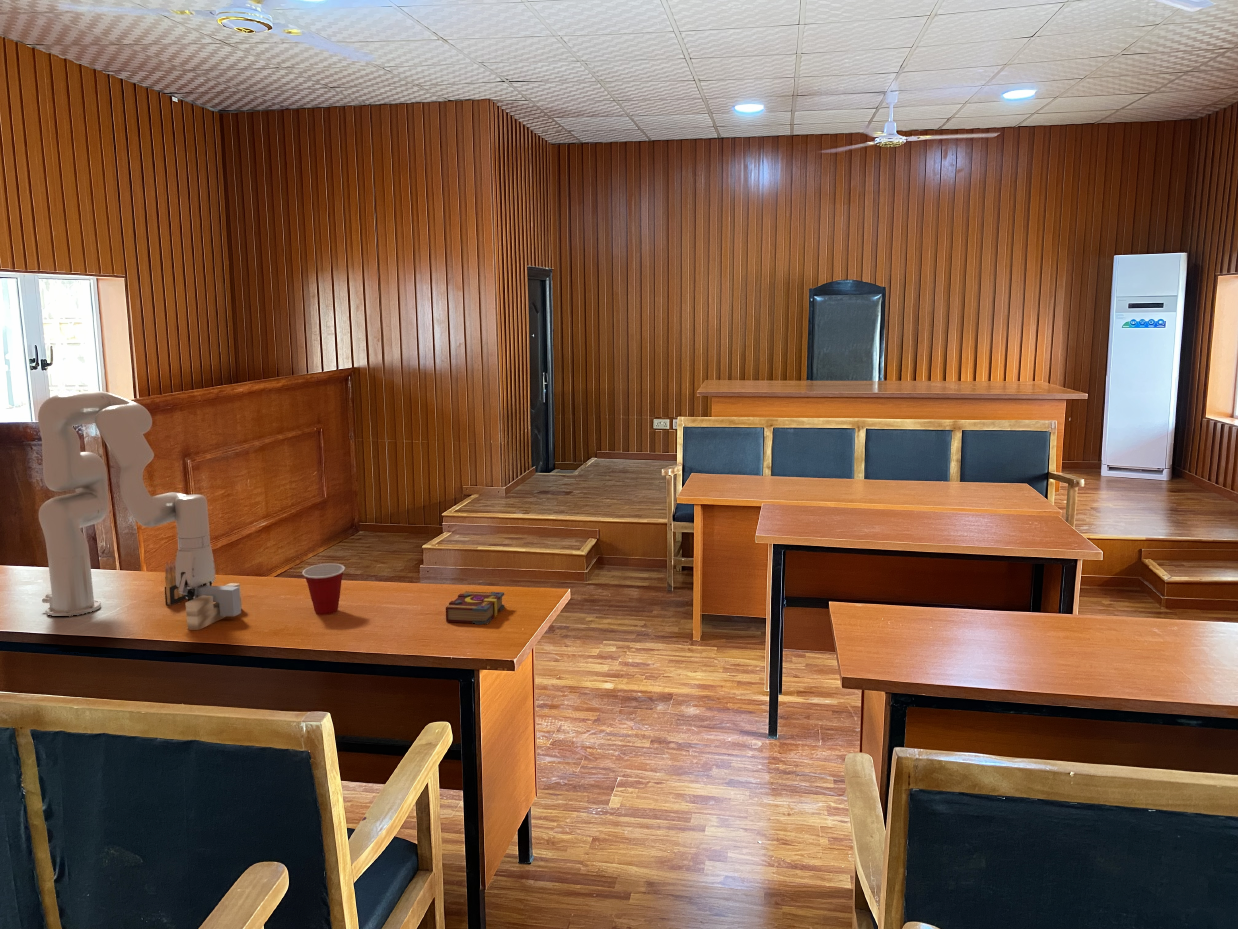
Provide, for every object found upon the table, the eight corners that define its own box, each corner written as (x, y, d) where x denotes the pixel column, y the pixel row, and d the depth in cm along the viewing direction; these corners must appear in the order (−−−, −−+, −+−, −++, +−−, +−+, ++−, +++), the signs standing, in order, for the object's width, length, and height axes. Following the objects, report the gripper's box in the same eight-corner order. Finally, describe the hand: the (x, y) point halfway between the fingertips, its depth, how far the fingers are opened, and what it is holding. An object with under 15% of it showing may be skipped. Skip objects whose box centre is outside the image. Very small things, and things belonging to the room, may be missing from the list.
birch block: (198, 630, 220) (196, 603, 219) (187, 629, 220) (185, 602, 219) (241, 608, 237) (239, 583, 236) (231, 608, 238) (230, 583, 237)
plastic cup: (298, 618, 228) (295, 574, 227) (313, 606, 239) (311, 563, 237) (339, 618, 228) (336, 573, 226) (352, 605, 239) (350, 563, 237)
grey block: (189, 613, 228) (187, 588, 227) (197, 610, 231) (194, 584, 230) (233, 616, 226) (232, 590, 225) (241, 612, 229) (239, 587, 228)
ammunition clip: (171, 605, 241) (167, 563, 239) (165, 605, 241) (161, 563, 240) (195, 594, 252) (192, 553, 250) (190, 594, 252) (186, 553, 250)
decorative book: (444, 623, 224) (444, 605, 223) (466, 605, 240) (466, 587, 239) (487, 626, 222) (486, 607, 221) (506, 607, 238) (505, 589, 237)
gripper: (201, 535, 235) (207, 600, 238) (159, 549, 220) (165, 619, 222) (226, 535, 234) (231, 602, 237) (185, 550, 218) (191, 621, 221)
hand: (199, 609), depth 229 cm, fingers closed on grey block, 3 cm apart
